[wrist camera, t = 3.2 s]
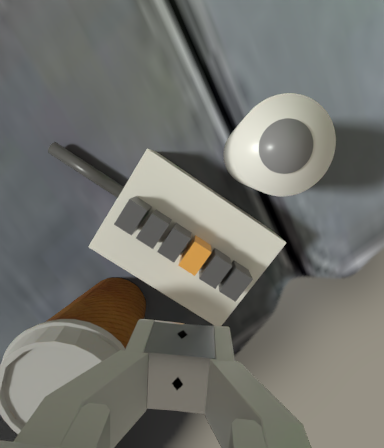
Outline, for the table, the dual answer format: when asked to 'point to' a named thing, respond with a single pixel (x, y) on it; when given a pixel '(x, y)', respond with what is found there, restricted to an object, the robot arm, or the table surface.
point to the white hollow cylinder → (281, 145)
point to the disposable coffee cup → (67, 346)
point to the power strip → (197, 220)
